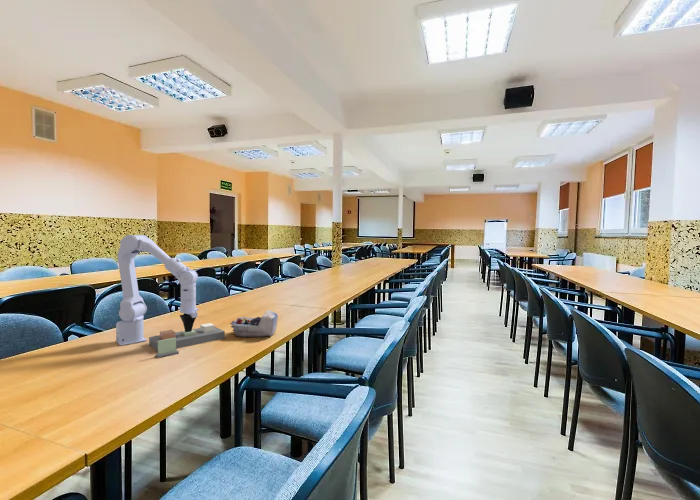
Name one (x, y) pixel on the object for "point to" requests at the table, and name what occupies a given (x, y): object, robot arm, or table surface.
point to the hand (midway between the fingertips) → (188, 331)
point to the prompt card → (166, 348)
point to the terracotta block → (167, 334)
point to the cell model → (256, 325)
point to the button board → (190, 338)
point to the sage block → (188, 333)
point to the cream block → (207, 328)
